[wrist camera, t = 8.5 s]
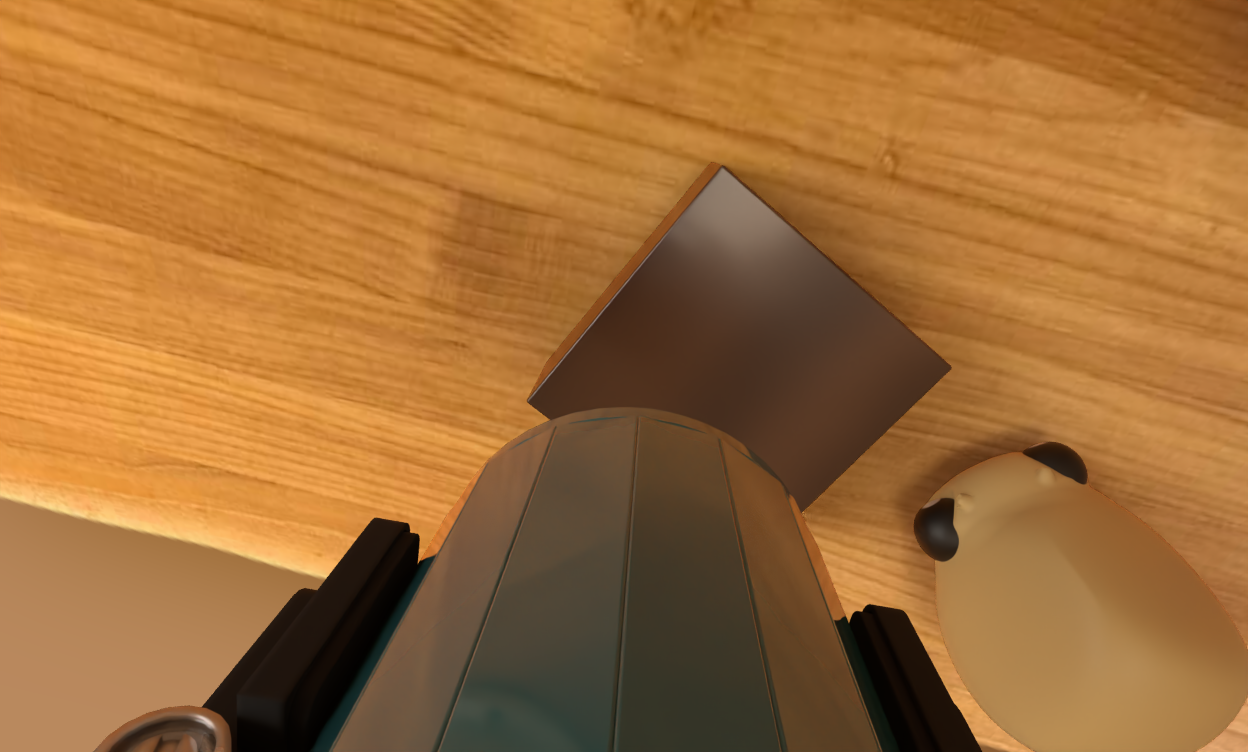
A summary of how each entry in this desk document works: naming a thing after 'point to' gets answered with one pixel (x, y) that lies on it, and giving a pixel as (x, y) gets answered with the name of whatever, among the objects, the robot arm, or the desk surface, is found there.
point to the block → (745, 340)
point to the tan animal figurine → (1076, 612)
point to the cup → (616, 609)
